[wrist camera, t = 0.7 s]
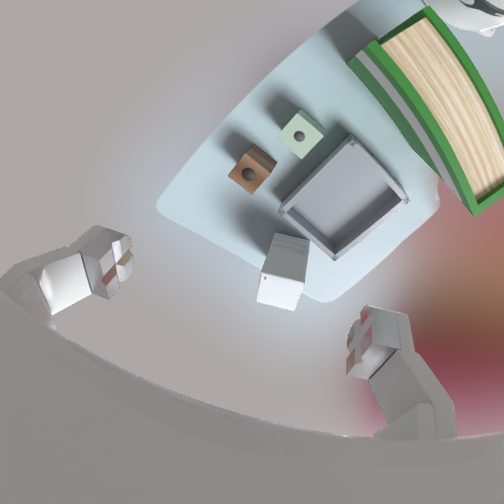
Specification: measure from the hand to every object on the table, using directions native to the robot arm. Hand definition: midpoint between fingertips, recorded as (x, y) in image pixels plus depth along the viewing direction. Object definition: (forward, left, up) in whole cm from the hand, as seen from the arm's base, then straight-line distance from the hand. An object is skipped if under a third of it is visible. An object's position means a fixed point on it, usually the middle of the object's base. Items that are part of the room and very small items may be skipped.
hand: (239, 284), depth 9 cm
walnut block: (+13, -2, -40) cm, 42 cm away
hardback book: (-13, +7, -40) cm, 43 cm away
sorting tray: (+7, +13, -40) cm, 43 cm away
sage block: (+3, 0, -40) cm, 40 cm away
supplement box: (+23, +14, -40) cm, 48 cm away
